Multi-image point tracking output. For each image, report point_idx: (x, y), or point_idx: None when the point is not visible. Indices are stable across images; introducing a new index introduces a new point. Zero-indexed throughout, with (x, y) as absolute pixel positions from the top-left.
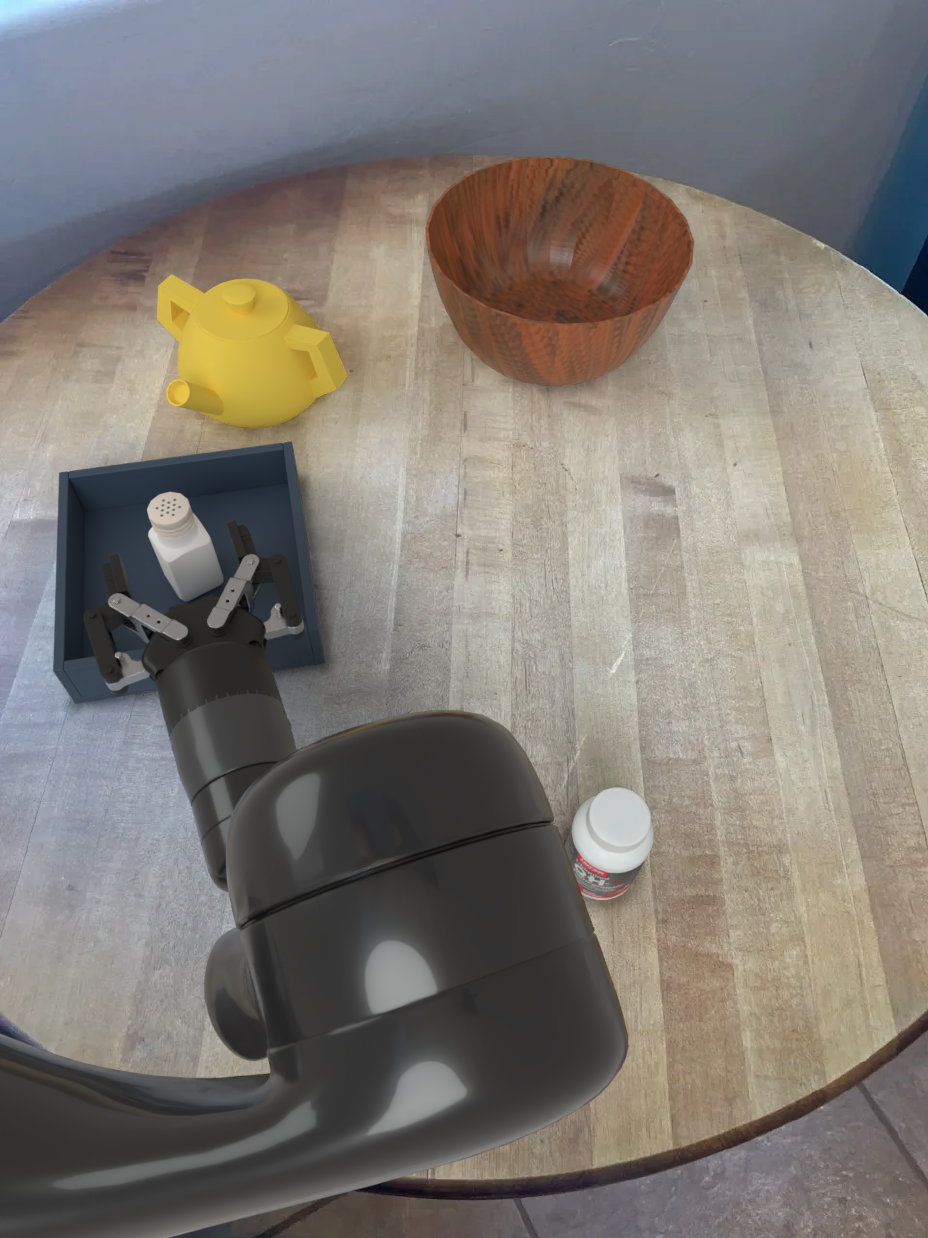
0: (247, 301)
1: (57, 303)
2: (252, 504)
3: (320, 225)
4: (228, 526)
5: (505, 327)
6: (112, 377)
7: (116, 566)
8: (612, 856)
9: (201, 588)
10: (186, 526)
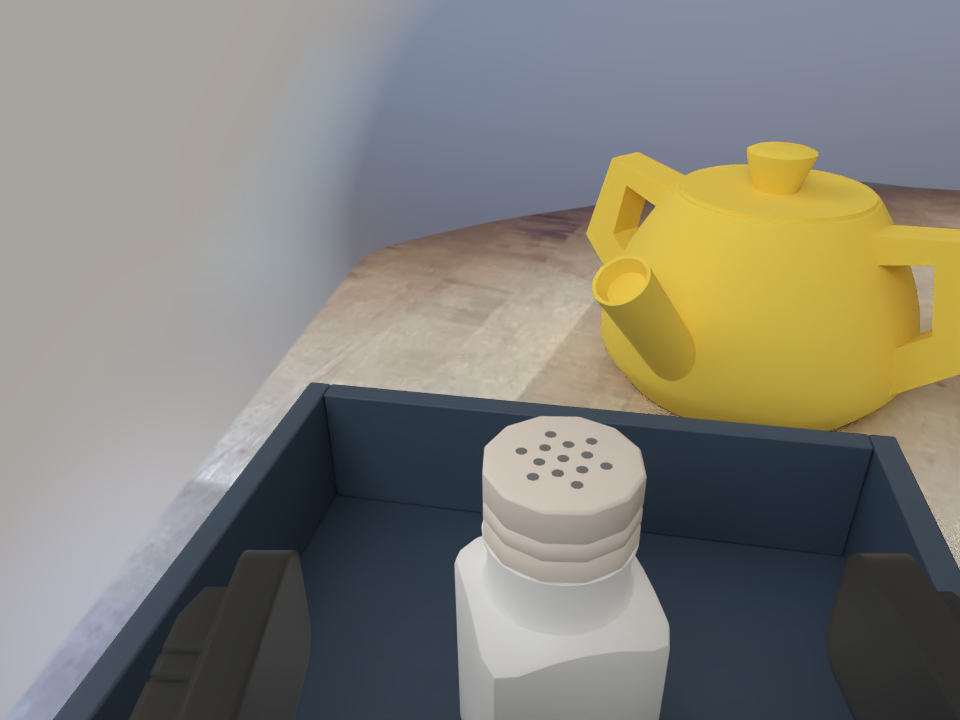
0: (803, 158)
1: (438, 242)
2: (738, 583)
3: None
4: (882, 576)
5: None
6: (481, 319)
7: (243, 615)
8: None
9: None
10: (612, 549)
